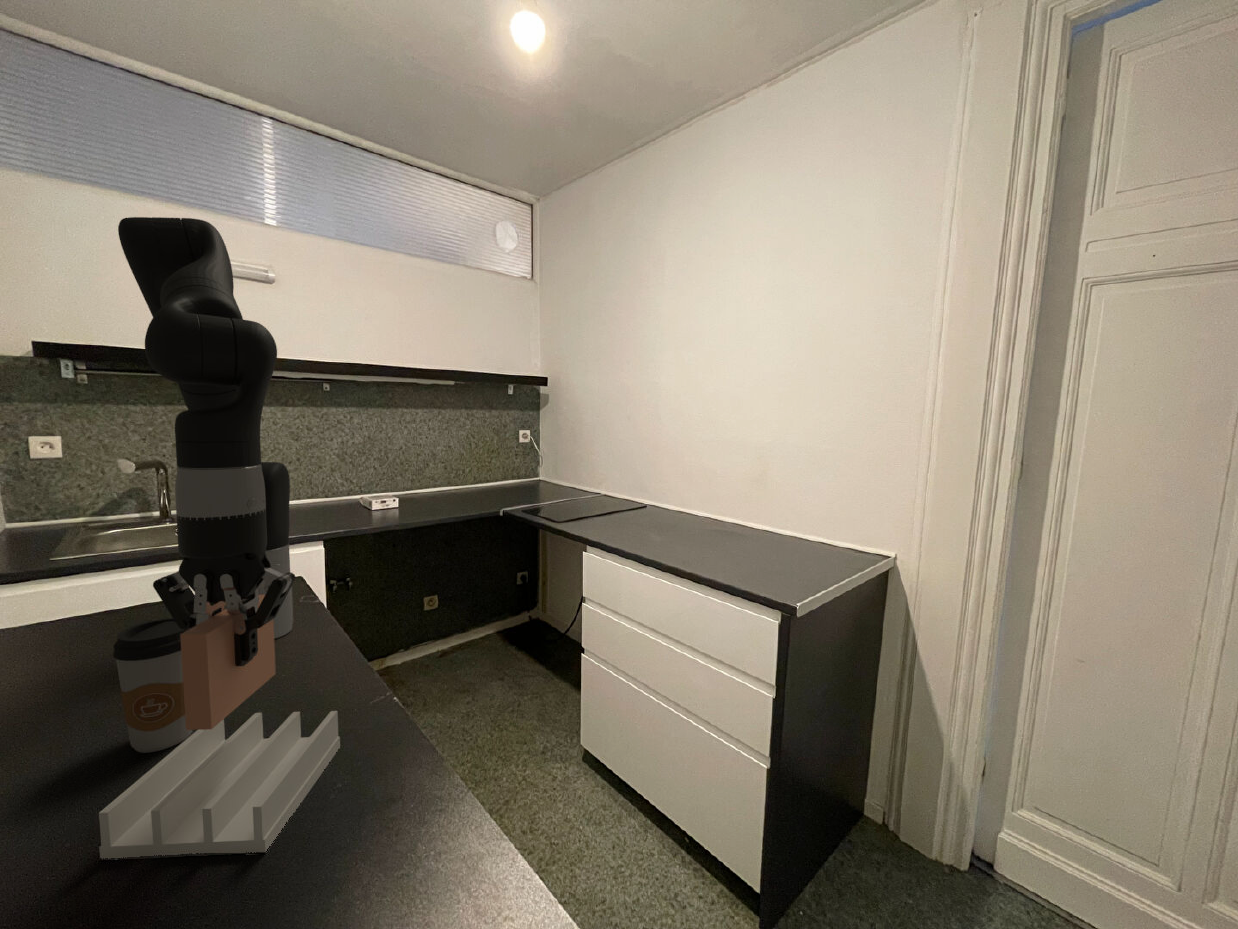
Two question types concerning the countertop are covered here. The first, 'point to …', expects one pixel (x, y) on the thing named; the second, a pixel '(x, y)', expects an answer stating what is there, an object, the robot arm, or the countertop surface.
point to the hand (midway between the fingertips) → (230, 662)
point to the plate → (221, 669)
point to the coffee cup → (152, 684)
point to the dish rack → (219, 791)
